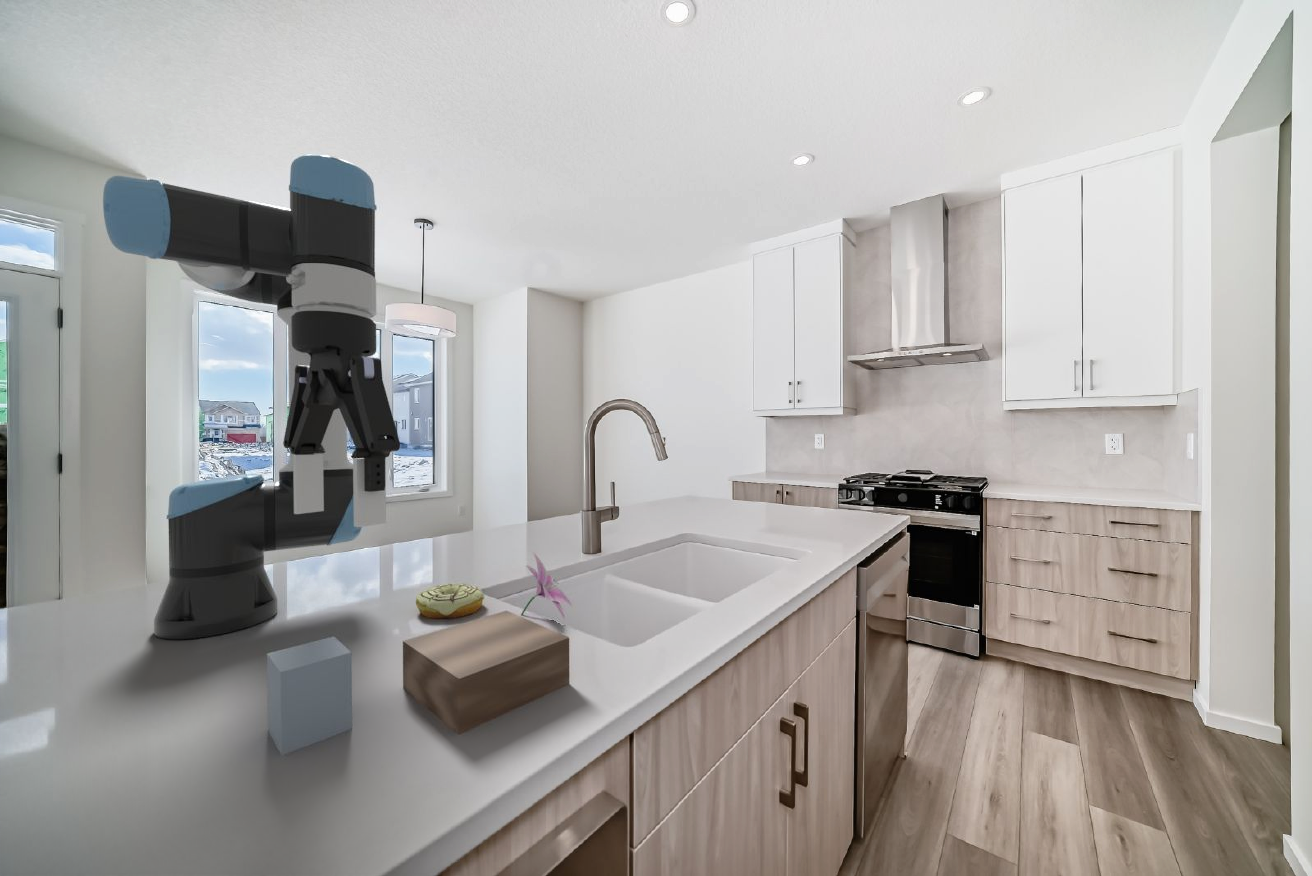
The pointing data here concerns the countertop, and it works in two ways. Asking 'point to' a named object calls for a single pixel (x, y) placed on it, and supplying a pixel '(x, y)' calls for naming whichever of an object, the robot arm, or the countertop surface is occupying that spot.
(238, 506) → the robot arm
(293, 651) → the slate block
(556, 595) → the lily
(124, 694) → the countertop surface
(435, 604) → the decorated donut
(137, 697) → the countertop surface
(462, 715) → the walnut block
